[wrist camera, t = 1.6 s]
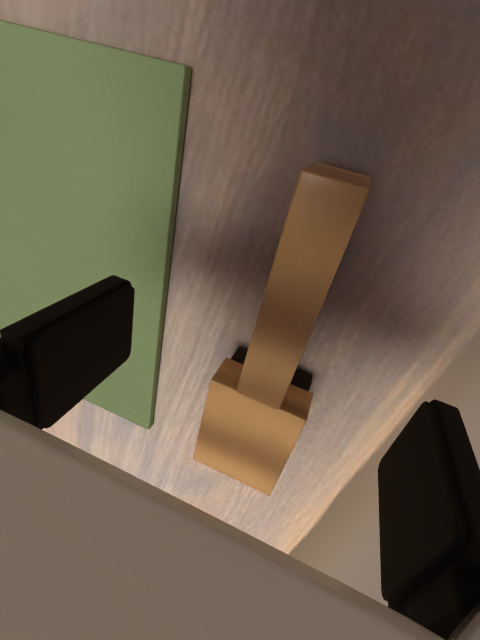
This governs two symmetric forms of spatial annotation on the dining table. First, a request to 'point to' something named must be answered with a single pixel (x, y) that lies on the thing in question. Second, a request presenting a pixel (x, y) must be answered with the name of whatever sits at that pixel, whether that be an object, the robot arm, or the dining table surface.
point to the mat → (90, 187)
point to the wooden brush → (281, 335)
